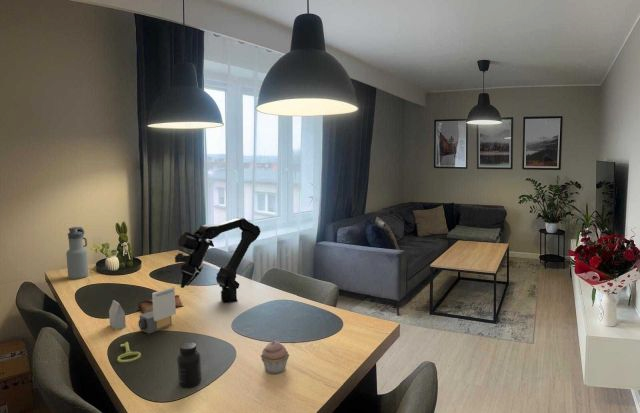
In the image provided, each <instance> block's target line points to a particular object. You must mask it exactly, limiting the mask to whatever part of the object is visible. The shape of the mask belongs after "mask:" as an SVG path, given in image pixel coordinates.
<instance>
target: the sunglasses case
mask: <svg viewBox="0 0 640 413" xmlns="http://www.w3.org/2000/svg"><path fill="white" fill-rule="evenodd" d="M182 307H184V305H183V303H182V301H181V299H180V295H179V294H178V295H176V294H175V309H178V308H182ZM138 309H139V311H140V312H141V314H144V313H147V312H150V311H153V300H152V299H151V300H144V301H141V302H139V304H138Z"/></svg>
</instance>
